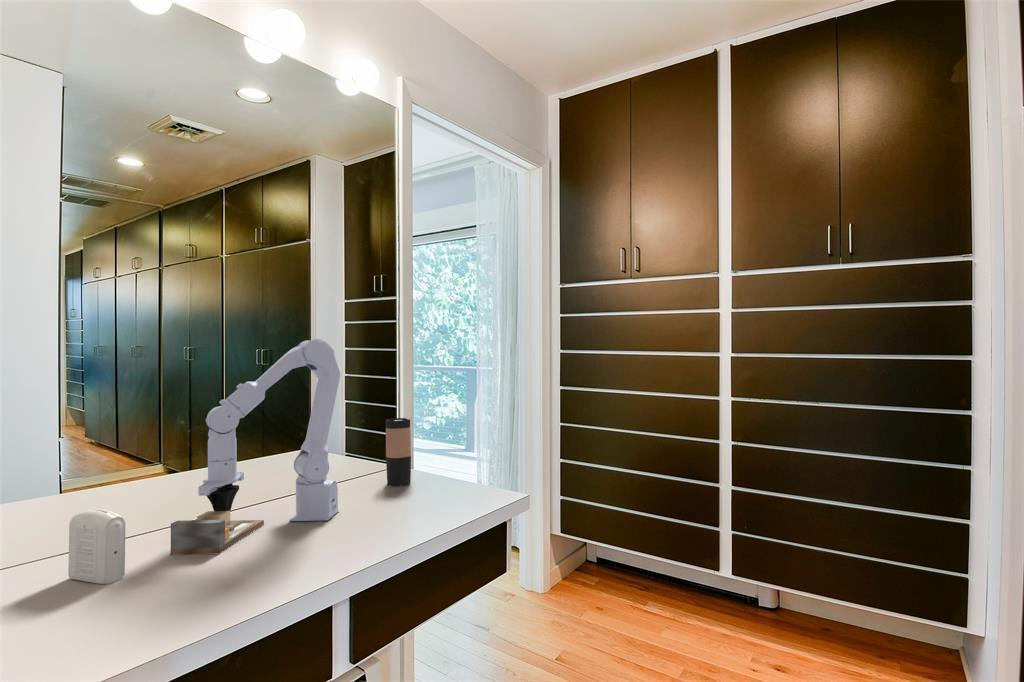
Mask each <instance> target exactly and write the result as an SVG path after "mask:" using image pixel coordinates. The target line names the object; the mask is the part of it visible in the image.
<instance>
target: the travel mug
mask: <svg viewBox="0 0 1024 682" xmlns="http://www.w3.org/2000/svg"><path fill="white" fill-rule="evenodd" d="M411 435H412V434H411V418H409V419H408V418H406V417H395V418H388V419H385V462H386V463H385V464H386V483H387V486H389V485H391V486H390V487H401V486H400V485H404V486H407V485H406V484H408V485H410V484H411V483H412V482H411V475H412V474H411V473H412V472H411V471H412V447H411V446H412V443H411V442H412V441H411V440H412V439H411V437H412V436H411ZM409 483H410V484H409Z"/></svg>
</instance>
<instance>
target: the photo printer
mask: <svg viewBox="0 0 1024 682" xmlns="http://www.w3.org/2000/svg"><path fill="white" fill-rule="evenodd" d="M68 525H69V526H68V529H69V530H68V568H67V571H68V572H67V573H68V574H67V576H68V578H70V579H71V580H76V581H82V582H88V583H92V584H100V585H102V584H104V585H109V584H112V583H115V582H117V581H119V580H122V578H123V577H124V575H125V571H126V569H125V568H126V521H125V519H124V518H123V517H122V516H121V515H120V514H119V513H116V512H113V511H111V510H108V509H103V508H91V509H87V510H83V511H80V512H78V513H76V514H74V516H72V518H71V520H70V522H69V524H68Z"/></svg>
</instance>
